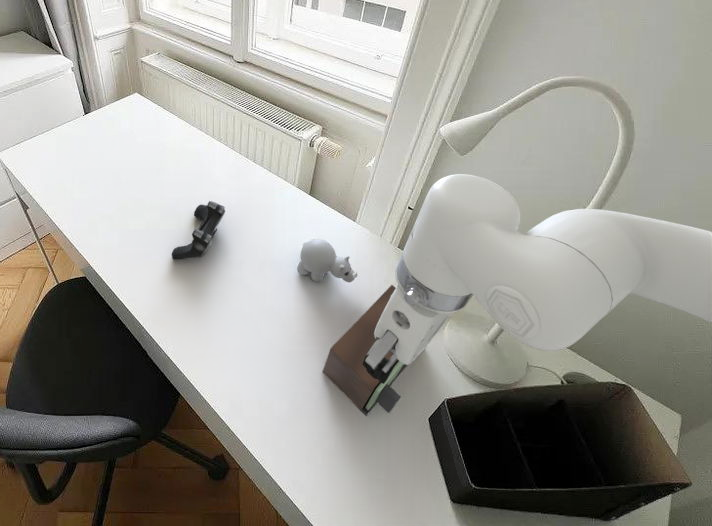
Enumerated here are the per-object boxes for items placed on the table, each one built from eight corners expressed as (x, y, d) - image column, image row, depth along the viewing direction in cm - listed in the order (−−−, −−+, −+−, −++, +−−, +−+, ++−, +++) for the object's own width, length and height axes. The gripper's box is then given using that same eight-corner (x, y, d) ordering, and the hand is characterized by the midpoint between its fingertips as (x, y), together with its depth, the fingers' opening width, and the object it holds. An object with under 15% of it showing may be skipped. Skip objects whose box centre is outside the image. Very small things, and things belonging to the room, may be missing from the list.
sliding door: (409, 386, 69) (423, 367, 64) (381, 423, 65) (393, 406, 60) (393, 372, 71) (405, 352, 66) (365, 407, 67) (375, 389, 62)
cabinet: (423, 344, 75) (439, 320, 69) (366, 416, 66) (379, 394, 61) (380, 310, 81) (391, 284, 75) (322, 371, 72) (330, 348, 66)
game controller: (193, 275, 91) (211, 257, 84) (167, 258, 90) (183, 239, 83) (218, 222, 102) (236, 202, 95) (195, 207, 102) (212, 186, 95)
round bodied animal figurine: (345, 303, 82) (353, 279, 76) (291, 273, 87) (296, 249, 82) (358, 277, 86) (367, 253, 81) (306, 250, 92) (311, 226, 86)
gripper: (425, 353, 38) (382, 419, 49) (507, 254, 46) (454, 330, 57) (357, 296, 42) (331, 368, 53) (442, 216, 51) (405, 293, 61)
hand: (395, 348), depth 55 cm, fingers open, 9 cm apart
